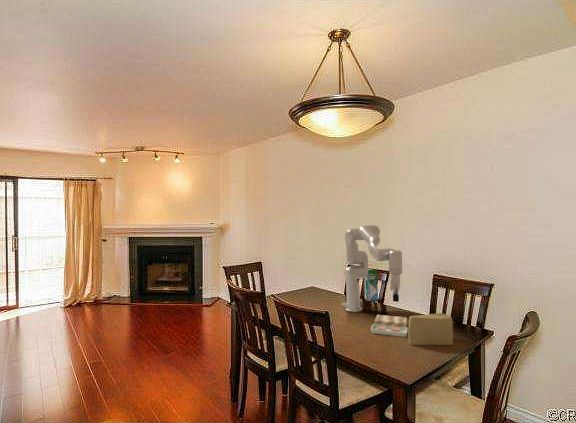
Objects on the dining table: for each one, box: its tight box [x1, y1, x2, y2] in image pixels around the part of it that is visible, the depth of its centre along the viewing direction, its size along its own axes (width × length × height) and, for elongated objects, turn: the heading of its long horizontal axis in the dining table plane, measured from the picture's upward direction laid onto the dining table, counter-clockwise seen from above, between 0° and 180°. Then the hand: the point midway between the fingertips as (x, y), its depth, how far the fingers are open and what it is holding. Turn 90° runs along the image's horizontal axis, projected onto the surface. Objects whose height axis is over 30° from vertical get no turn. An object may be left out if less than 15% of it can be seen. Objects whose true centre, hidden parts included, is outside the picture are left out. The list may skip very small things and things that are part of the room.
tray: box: [370, 323, 409, 338], centre depth 193 cm, size 20×10×2 cm, turn 67°
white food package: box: [374, 314, 408, 327], centre depth 204 cm, size 18×12×4 cm, turn 67°
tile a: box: [377, 326, 386, 331], centre depth 194 cm, size 4×4×2 cm
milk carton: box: [363, 268, 379, 302], centre depth 267 cm, size 9×9×25 cm
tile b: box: [391, 327, 400, 332], centre depth 192 cm, size 4×4×2 cm
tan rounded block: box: [407, 312, 454, 346], centre depth 176 cm, size 22×10×15 cm, turn 95°
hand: (395, 301), depth 198 cm, fingers closed
